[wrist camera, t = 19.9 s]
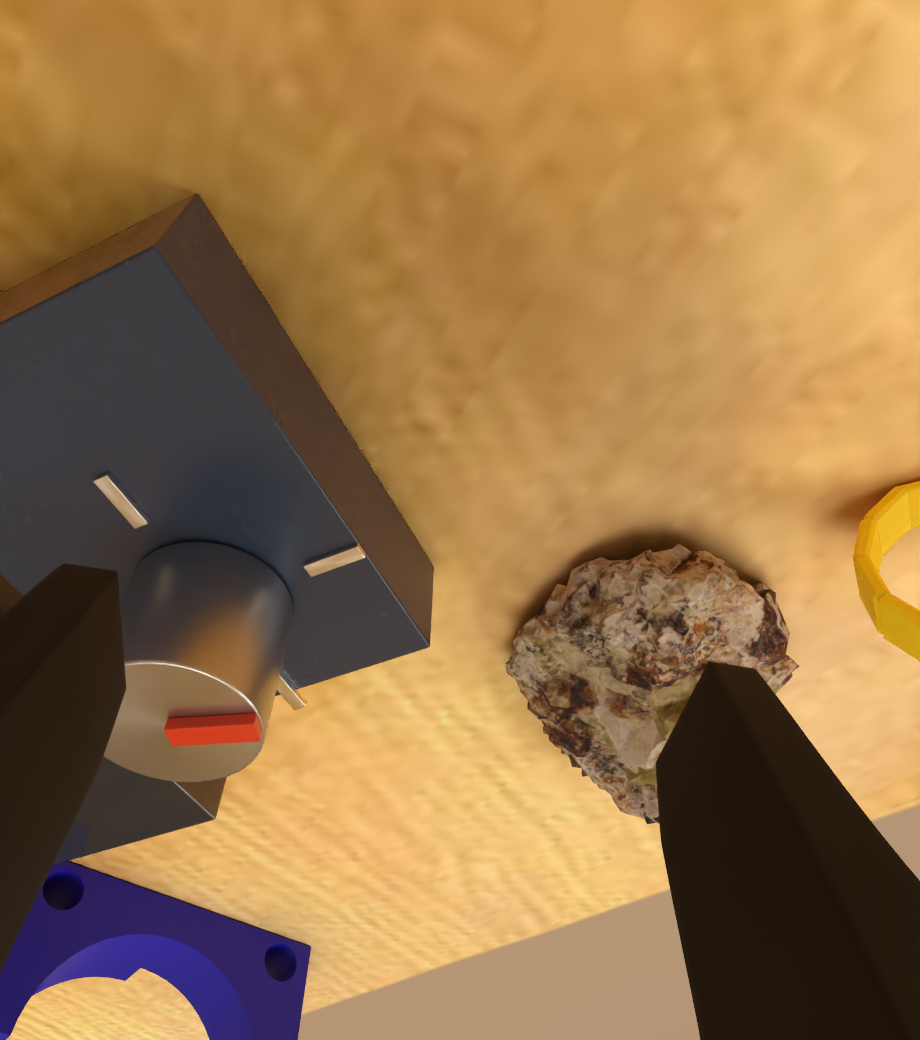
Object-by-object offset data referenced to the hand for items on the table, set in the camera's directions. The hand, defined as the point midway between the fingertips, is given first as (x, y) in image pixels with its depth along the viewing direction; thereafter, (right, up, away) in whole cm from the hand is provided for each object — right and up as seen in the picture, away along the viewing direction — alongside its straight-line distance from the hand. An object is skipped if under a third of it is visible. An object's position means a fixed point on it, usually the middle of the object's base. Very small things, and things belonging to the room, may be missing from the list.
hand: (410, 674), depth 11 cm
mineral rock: (+6, -2, +15) cm, 16 cm away
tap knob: (-5, 0, +9) cm, 11 cm away
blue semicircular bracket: (-12, -15, +25) cm, 31 cm away
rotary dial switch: (-6, +3, +11) cm, 13 cm away
